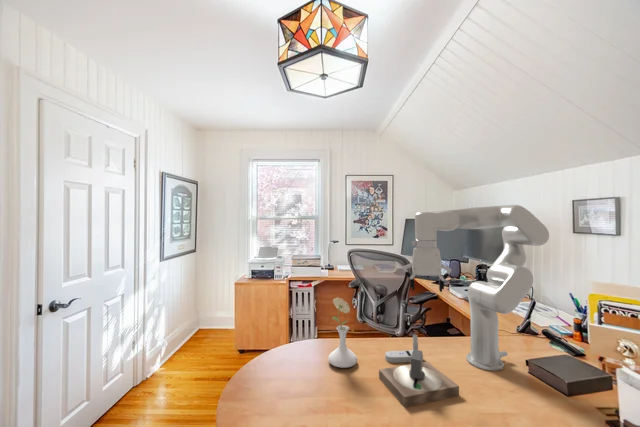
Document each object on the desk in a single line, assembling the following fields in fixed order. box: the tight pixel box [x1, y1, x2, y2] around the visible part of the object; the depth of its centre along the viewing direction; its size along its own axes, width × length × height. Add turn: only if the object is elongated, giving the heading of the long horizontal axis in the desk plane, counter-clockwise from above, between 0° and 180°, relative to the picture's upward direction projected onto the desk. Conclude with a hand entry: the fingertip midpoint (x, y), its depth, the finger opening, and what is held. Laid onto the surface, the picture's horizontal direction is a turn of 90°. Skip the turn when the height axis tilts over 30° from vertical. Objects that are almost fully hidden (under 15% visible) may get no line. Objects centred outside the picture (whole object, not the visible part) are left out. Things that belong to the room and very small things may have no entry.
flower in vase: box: [327, 297, 358, 369], centre depth 111 cm, size 13×11×25 cm
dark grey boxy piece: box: [409, 349, 425, 387], centre depth 94 cm, size 10×5×7 cm, turn 155°
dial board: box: [378, 361, 460, 408], centre depth 95 cm, size 20×16×3 cm
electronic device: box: [384, 333, 424, 364], centre depth 113 cm, size 5×10×15 cm
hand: (426, 290), depth 106 cm, fingers open, 9 cm apart
